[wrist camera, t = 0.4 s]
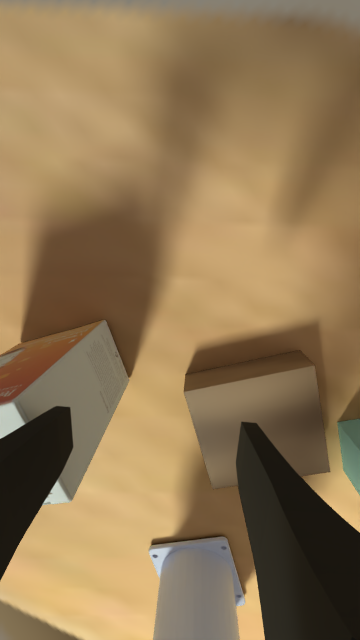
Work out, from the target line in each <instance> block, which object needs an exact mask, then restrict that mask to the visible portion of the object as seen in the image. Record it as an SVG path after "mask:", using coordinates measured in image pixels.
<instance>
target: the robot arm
mask: <svg viewBox="0 0 360 640" xmlns="http://www.w3.org/2000/svg"><path fill="white" fill-rule="evenodd" d="M72 449H73V435H72V422H71V409H70V407H64V406H55V407H53V408H51V409H49V410H48V411H46V412H44V413H43V414H41V415H39V416H38V417H36V418H34V419H33V420H31V421H29V422H28V423H26V424H24V425H23V426H21V427H19V428H18V429H16V430H14V431H13V432H11V433H9V434H8V435H6V436H4V437H3V438H1V439H0V580H1V578H2V576H3V574H4V572H5V570H6V568H7V566H8V564H9V562H10V561H11V559H12V557H13V555H14V553H15V551H16V549H17V547H18V545H19V543H20V541H21V540H22V538H23V536H24V534H25V533H26V531H27V529H28V528H29V526H30V524H31V523H32V521H33V519H34V518H35V516H36V514H37V513H38V511H39V510H40V508H41V506H42V505H43V503H44V501H45V500H46V498H47V496H48V495H49V493H50V492H51V490H52V488H53V487H54V485H55V483H56V482H57V480H58V478H59V477H60V475H61V473H62V471H63V469H64V467H65V465H66V463H67V461H68V459H69V456H70V454H71V452H72ZM236 471H237V480H238V489H239V494H240V498H241V503H242V508H243V512H244V517H245V522H246V526H247V531H248V535H249V540H250V544H251V549H252V553H253V558H254V564H255V569H256V575H257V582H258V590H259V597H260V604H261V611H262V619H263V627H264V635H265V640H360V533H359V532H358V531H357V530H356V529H355V528H353V527H352V526H351V525H350V524H349V523H348V522H346V521H345V520H344V519H343V518H342V517H341V516H340V515H339V514H337V513H336V512H335V511H334V510H333V509H332V508H331V507H330V506H329V505H328V504H327V503H326V502H325V501H324V500H323V499H322V498H321V497H320V496H319V495H318V494H317V493H316V492H315V491H314V490H313V489H312V488H311V487H310V486H309V485H308V484H307V483H306V482H305V481H304V480H303V479H302V478H301V477H300V476H299V475H298V473H297V472H296V471H295V470H294V469H293V468H292V467H291V465H290V464H289V463H288V462H287V461H286V459H285V458H284V457H283V456H282V455H281V453H280V452H279V451H278V450H277V449H276V447H275V446H274V445H273V443H272V442H271V441H270V440H269V438H268V437H267V436H266V434H265V433H264V432H263V431H262V429H261V428H260V427H259V425H258V424H257V423H252V422H241V427H240V434H239V441H238V449H237V456H236ZM149 554H150V556H151V559H152V561H153V564H154V566H155V569H156V571H157V574H158V576H159V578H160V582H159V591H158V600H157V609H156V618H155V627H154V635H153V640H240V638H239V628H238V619H237V610H236V606H241V605H244V604H245V597H244V594H243V590H242V587H241V584H240V580H239V577H238V574H237V570H236V567H235V563H234V560H233V557H232V553H231V550H230V547H229V543H228V540H227V538H225V537H214V538H206V539H198V540H190V541H182V542H174V543H166V544H158V545H151V546H150V548H149Z"/></svg>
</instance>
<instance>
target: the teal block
mask: <svg viewBox="0 0 360 640" xmlns="http://www.w3.org/2000/svg"><path fill="white" fill-rule="evenodd" d="M337 423H338V431H339V439H340V447H341V454H342V462H343V470H344V472H345V473H346V475H347V476H348V478H349V480H350V481H351V483H352V484H353V486H354V487H355V489H356V490H357V492H358V493H359V495H360V418H359V419H354V420H348V421H342V422H337Z"/></svg>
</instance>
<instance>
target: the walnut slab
mask: <svg viewBox="0 0 360 640" xmlns="http://www.w3.org/2000/svg"><path fill="white" fill-rule="evenodd" d="M184 395H185V398H186V401H187V405H188V408H189V411H190V415H191V418H192V421H193V425H194V428H195V431H196V435H197V438H198V441H199V445H200V448H201V452H202V455H203V458H204V462H205V465H206V468H207V472H208V475H209V478H210V482H211V485H212V488H213V489H218V488H225V487H231V486H238V480H237V471H236V456H237V449H238V441H239V434H240V427H241V422H252V423H257V424H258V425H259V427H260V428H261V429H262V431H263V432H264V433H265V434H266V436H267V437H268V438H269V440H270V441H271V442H272V443H273V445H274V446H275V447H276V449H277V450H278V451H279V452H280V453H281V455H282V456H283V457H284V458H285V459H286V461H287V462H288V463H289V464H290V465H291V467H292V468H293V469H294V470H295V471H296V472H297V473H298V475H299V476H306V475H313V474H319V473H326V472H330V467H329V460H328V453H327V446H326V439H325V432H324V426H323V419H322V412H321V405H320V398H319V391H318V384H317V377H316V371H315V365H314V364H313V363H312V362H311V361H310V360H309V359H308V358H307V357H306V356H305V355H304V354H303V353H302V352H301V351H300V350H299V351H294V352H289V353H284V354H280V355H275V356H270V357H266V358H261V359H256V360H251V361H247V362H242V363H237V364H233V365H228V366H223V367H219V368H214V369H209V370H204V371H200V372H195V373H190V374H186V375H185V384H184Z"/></svg>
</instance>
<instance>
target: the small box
mask: <svg viewBox="0 0 360 640" xmlns="http://www.w3.org/2000/svg"><path fill="white" fill-rule="evenodd" d="M128 382H129V378H128V375H127V373H126V370H125V368H124V365H123V363H122V360H121V357H120V355H119V353H118V350H117V347H116V345H115V342H114V340H113V337H112V335H111V332H110V330H109V327H108V325H107V322H106V320H101V321H98V322H95V323H92V324H89V325H85V326H82V327H79V328H75V329H72V330H68V331H64V332H61V333H57V334H53V335H49V336H46V337H42V338H38V339H35V340H31V341H28V342H24V343H20V344H18V345H16V346H15V347H13V348H11V349H10V350H8V351H6V352H5V353H3V354H1V355H0V439H1V438H3V437H4V436H6V435H8V434H9V433H11V432H13V431H14V430H16V429H18V428H19V427H21V426H23V425H24V424H26V423H28V422H29V421H31V420H33V419H34V418H36V417H38V416H39V415H41V414H43V413H44V412H46V411H48V410H49V409H51V408H53V407H55V406H64V407H70V409H71V422H72V435H73V449H72V452H71V454H70V456H69V459H68V461H67V463H66V465H65V467H64V469H63V471H62V473H61V475H60V477H59V478H58V480H57V482H56V483H55V485H54V487H53V488H52V490H51V492H50V493H49V495H48V496H47V498H46V500H45V501H44V503H43V505H47V504H59V503H69V502H71V501H72V499H73V497H74V495H75V493H76V491H77V489H78V487H79V485H80V483H81V481H82V479H83V476H84V474H85V472H86V470H87V468H88V466H89V464H90V462H91V460H92V458H93V456H94V454H95V451H96V449H97V447H98V445H99V443H100V441H101V439H102V437H103V435H104V433H105V430H106V428H107V426H108V424H109V422H110V420H111V418H112V416H113V414H114V412H115V410H116V408H117V405H118V403H119V401H120V399H121V397H122V395H123V393H124V391H125V389H126V387H127V385H128Z"/></svg>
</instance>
